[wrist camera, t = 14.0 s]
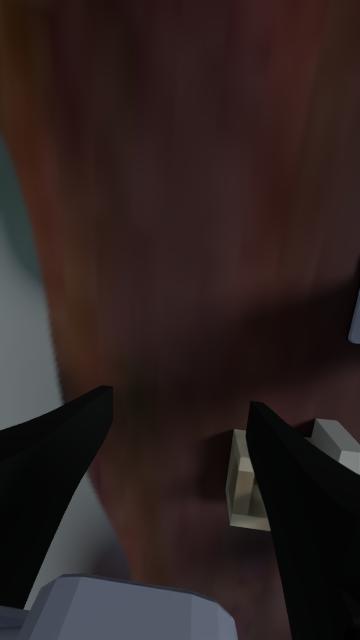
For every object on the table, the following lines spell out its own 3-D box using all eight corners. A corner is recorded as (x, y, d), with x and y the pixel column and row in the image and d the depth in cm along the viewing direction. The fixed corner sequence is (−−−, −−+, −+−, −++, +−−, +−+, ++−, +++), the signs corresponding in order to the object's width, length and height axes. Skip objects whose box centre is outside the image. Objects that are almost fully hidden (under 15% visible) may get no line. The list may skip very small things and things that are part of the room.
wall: (336, 420, 21) (368, 453, 18) (312, 517, 24) (334, 565, 20) (315, 418, 22) (341, 450, 18) (293, 515, 24) (312, 562, 20)
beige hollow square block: (310, 437, 22) (331, 468, 19) (297, 499, 24) (313, 537, 20) (234, 429, 22) (240, 456, 19) (225, 489, 24) (230, 525, 21)
